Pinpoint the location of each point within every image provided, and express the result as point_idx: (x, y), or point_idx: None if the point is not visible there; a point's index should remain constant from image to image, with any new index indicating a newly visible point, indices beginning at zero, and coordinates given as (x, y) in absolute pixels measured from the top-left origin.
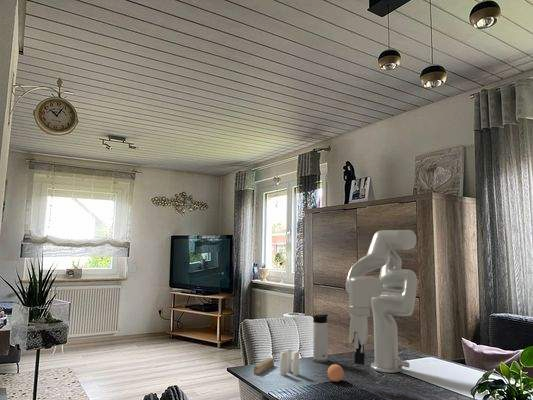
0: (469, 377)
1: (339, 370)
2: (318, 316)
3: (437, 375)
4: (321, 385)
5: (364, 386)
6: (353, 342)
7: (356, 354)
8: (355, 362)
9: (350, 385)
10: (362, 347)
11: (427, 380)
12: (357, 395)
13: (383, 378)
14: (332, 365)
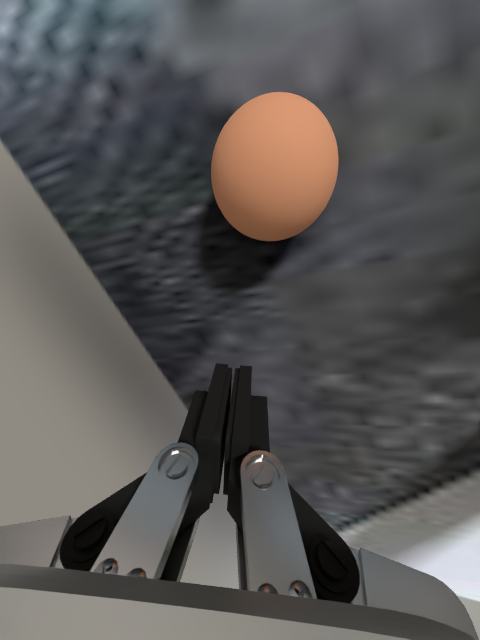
0: (459, 587)
1: (234, 218)
2: None
3: (472, 538)
4: (157, 113)
5: (250, 338)
6: (166, 594)
7: (180, 435)
8: (215, 369)
9: (236, 279)
10: (160, 578)
11: (403, 512)
12: (129, 326)
13: (395, 399)
14: (253, 136)
